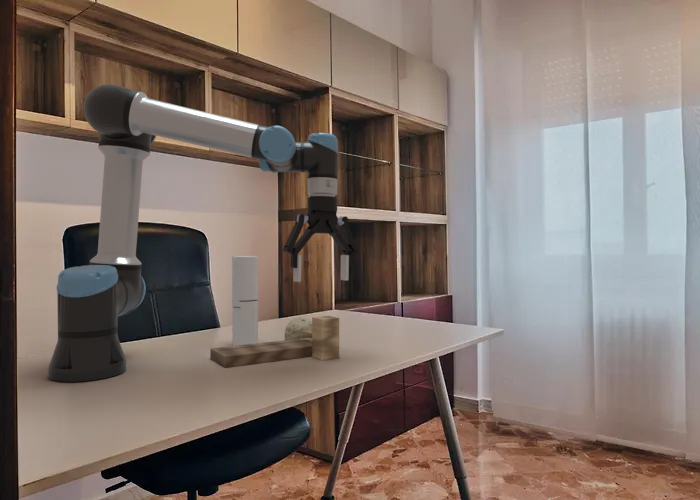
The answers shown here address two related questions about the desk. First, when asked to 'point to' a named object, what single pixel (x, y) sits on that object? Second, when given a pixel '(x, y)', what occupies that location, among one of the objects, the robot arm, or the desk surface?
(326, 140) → the robot arm
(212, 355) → the board
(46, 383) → the desk surface
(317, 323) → the wooden lever on block
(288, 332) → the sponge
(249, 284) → the cylindrical container
